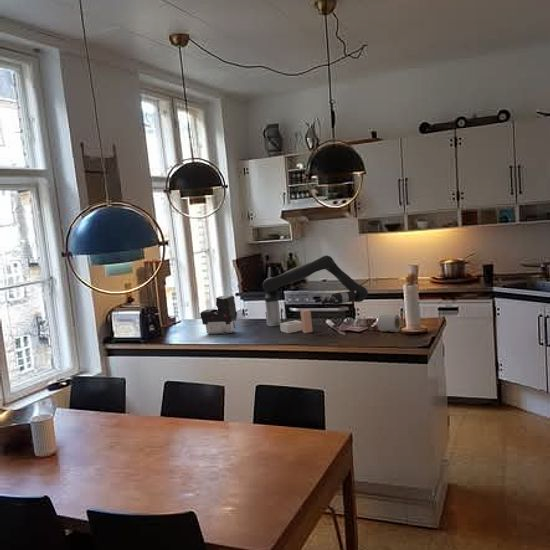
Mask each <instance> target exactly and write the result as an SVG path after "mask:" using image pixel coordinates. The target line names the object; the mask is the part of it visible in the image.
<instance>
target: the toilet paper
mask: <svg viewBox="0 0 550 550" xmlns="http://www.w3.org/2000/svg"><path fill="white" fill-rule="evenodd" d="M377 326H378V330H379V331H380V332H387V331H390V332H391V333H393V332H394V333H398V332H399V331H400V329H401V326H402V320H401V316H399V315H398V314H380V315H379V317H378V320H377ZM390 332H389V333H390Z"/></svg>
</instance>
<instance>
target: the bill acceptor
mask: <svg viewBox="0 0 550 550" xmlns="http://www.w3.org/2000/svg"><path fill="white" fill-rule="evenodd" d="M215 301H216V302H215V305H216V306H215V307H217V309H215V308H209V309H208V308H207V309H205V310H203V311H201V312H200V314H199V316H200V319H201V323H202V325H203V326H204V325H205V330H206V334H209V335H213V334H224V335H225V334H226V335H227V334H230V333H232V334H233V333H234V332H236V330H235V329H236V324H235V322H236V321H237V319H238V312H237V306H236V302H235V296H234V295H232V294H231V295H221V296H218V297H215Z"/></svg>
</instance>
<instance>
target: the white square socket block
mask: <svg viewBox="0 0 550 550" xmlns="http://www.w3.org/2000/svg"><path fill="white" fill-rule="evenodd" d="M279 328H280V332H283V333H286V334H290V333H297V332H299V331H300V332H301V331H302V321H301V320H295V319H294V320H291V321H285V322H281V323H280V325H279Z"/></svg>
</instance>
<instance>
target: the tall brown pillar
mask: <svg viewBox="0 0 550 550" xmlns="http://www.w3.org/2000/svg"><path fill="white" fill-rule="evenodd" d="M300 319H301V320H300V321H301V322H302V330H301V331H302V333H304V334H308V333H312V332H314V330H313V323H312V322H313V321H312V320H313V319H312V312H311V309H302V310H300Z"/></svg>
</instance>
